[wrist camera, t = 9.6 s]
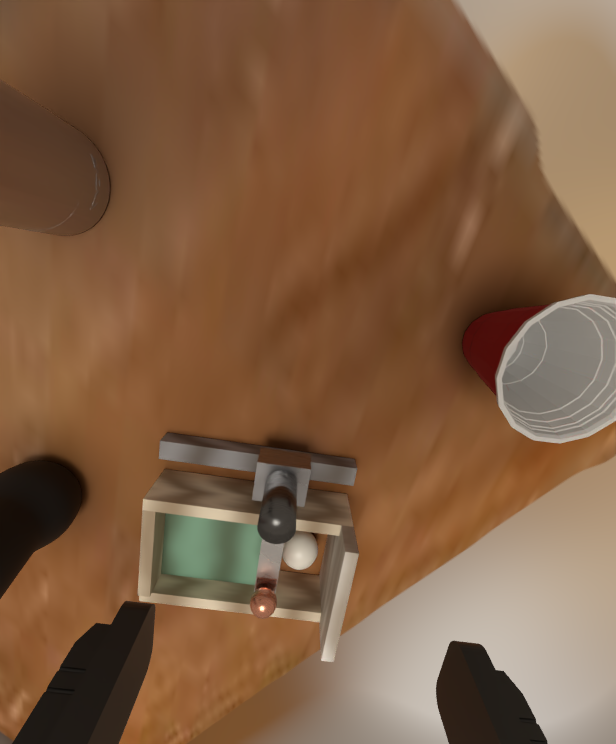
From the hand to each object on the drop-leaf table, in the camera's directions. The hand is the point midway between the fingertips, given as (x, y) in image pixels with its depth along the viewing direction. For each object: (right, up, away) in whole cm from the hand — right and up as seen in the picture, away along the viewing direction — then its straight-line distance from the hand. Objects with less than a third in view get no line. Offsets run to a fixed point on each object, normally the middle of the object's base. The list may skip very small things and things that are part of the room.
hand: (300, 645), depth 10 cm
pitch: (-6, -9, +31) cm, 33 cm away
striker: (-3, -7, +28) cm, 29 cm away
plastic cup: (+18, +10, +27) cm, 34 cm away
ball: (-1, -12, +30) cm, 32 cm away
